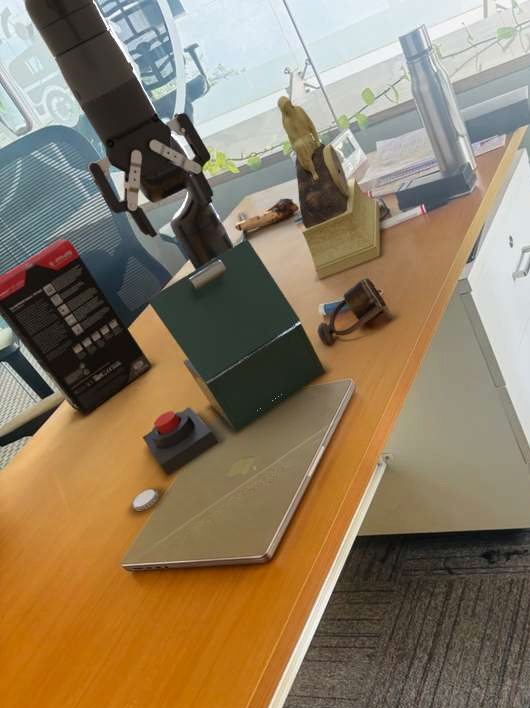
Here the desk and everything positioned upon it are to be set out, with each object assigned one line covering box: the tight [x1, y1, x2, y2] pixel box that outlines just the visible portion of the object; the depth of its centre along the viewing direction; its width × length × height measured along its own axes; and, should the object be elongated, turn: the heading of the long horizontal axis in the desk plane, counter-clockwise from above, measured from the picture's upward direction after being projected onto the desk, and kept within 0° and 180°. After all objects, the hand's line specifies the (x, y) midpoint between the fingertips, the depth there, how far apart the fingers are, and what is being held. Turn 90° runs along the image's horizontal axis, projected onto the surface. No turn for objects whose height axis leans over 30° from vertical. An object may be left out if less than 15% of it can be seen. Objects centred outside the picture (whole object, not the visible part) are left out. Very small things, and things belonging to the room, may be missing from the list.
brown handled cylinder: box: [317, 277, 392, 345], centre depth 113 cm, size 7×13×10 cm
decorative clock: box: [277, 95, 381, 280], centre depth 137 cm, size 28×13×30 cm, turn 179°
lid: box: [147, 238, 301, 382], centre depth 97 cm, size 14×17×5 cm
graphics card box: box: [0, 238, 152, 415], centre depth 128 cm, size 17×7×27 cm, turn 135°
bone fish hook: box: [234, 198, 300, 232], centre depth 180 cm, size 9×5×18 cm
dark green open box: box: [182, 321, 326, 432], centre depth 108 cm, size 13×17×9 cm
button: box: [153, 410, 181, 434], centre depth 105 cm, size 4×4×2 cm
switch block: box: [142, 406, 219, 476], centre depth 107 cm, size 12×9×4 cm
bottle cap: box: [131, 488, 160, 512], centre depth 99 cm, size 4×4×1 cm
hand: (181, 219), depth 90 cm, fingers open, 8 cm apart
